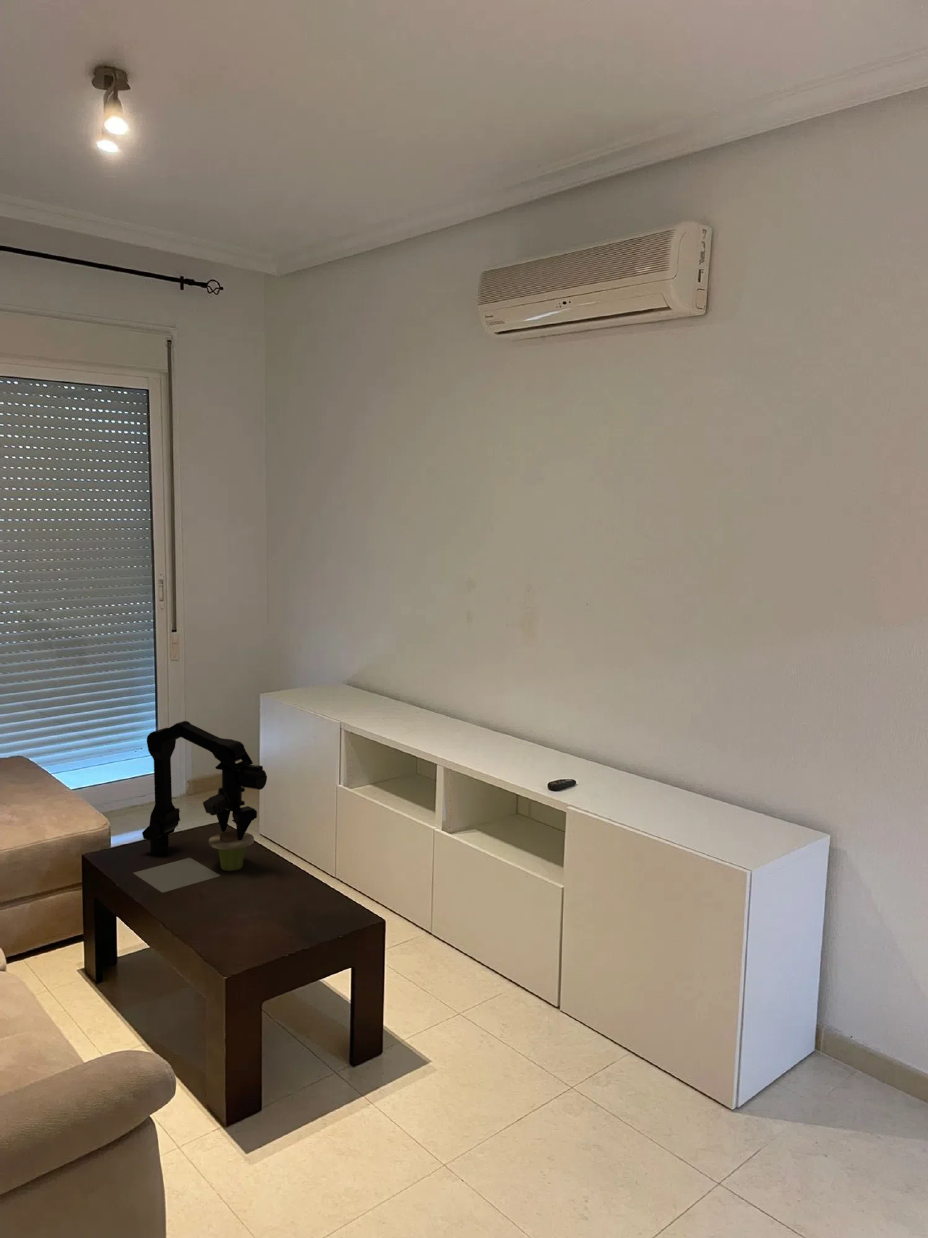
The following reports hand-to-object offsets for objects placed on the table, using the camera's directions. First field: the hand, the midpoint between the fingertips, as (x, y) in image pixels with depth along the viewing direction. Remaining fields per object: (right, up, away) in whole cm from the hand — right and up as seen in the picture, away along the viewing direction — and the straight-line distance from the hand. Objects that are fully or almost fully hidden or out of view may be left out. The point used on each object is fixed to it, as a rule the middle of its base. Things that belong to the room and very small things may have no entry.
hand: (231, 835), depth 268 cm
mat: (-14, -11, -6) cm, 19 cm away
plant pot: (0, -11, +1) cm, 11 cm away
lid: (0, -2, 0) cm, 2 cm away
